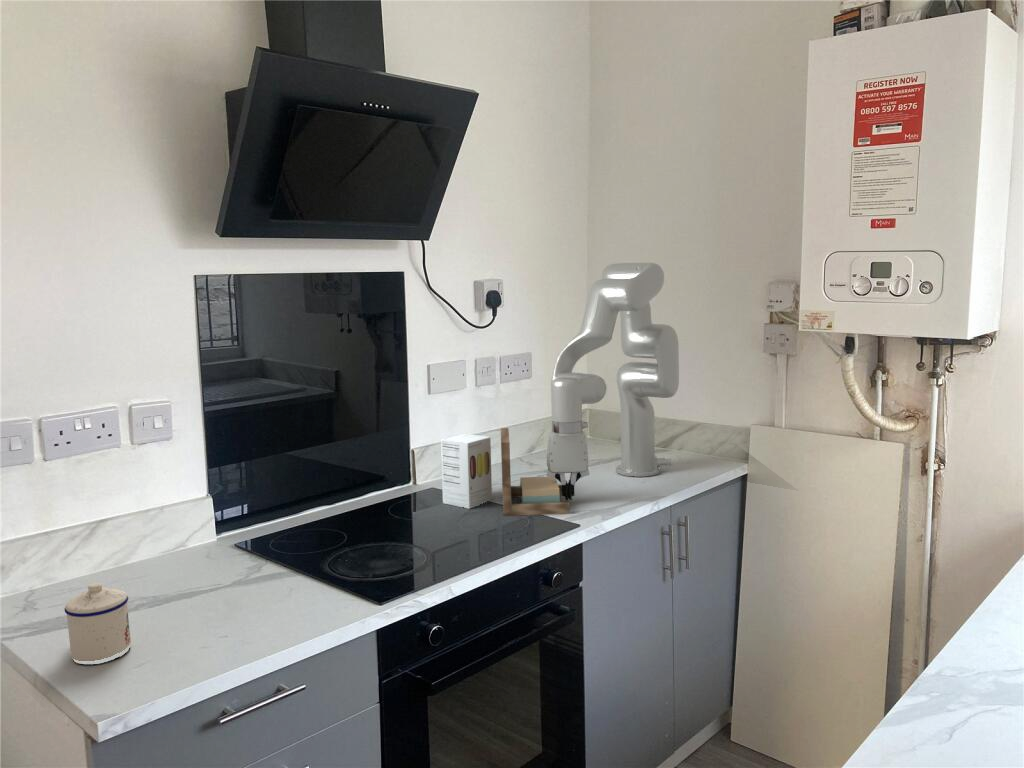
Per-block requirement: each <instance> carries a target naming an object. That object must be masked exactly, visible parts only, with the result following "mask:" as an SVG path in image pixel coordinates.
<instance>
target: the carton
mask: <svg viewBox="0 0 1024 768" xmlns="http://www.w3.org/2000/svg"><path fill="white" fill-rule="evenodd" d="M519 479H520V480H519V481H520V485H519V486H520V490H521V496H520V502H521V503H520V504H528V503H559V502H561V500H560V498H561V497H560V496H561V495H559V486H558V485H559V484H558V480H557V479H556V478H552V477H548V476H531V477H530V476H529V477H528V476H525V477H524V476H523V477H520V478H519Z"/></svg>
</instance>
